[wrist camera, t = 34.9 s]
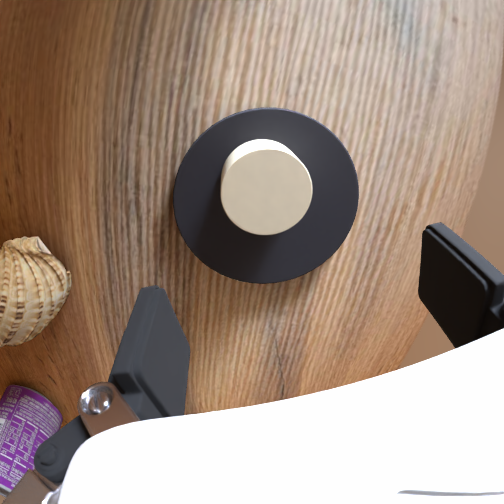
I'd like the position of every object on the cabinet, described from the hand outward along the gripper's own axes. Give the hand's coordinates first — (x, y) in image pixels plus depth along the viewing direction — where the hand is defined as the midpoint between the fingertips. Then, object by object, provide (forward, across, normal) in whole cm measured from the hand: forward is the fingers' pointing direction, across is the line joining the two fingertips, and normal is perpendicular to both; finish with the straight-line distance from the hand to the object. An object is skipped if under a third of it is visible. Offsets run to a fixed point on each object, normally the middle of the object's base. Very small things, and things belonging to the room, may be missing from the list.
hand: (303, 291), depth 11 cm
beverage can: (+8, +28, +14) cm, 32 cm away
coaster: (+8, 0, -1) cm, 8 cm away
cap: (+5, 0, -2) cm, 5 cm away
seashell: (+8, +18, 0) cm, 19 cm away
